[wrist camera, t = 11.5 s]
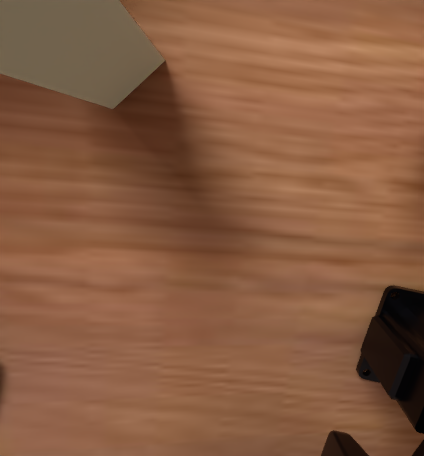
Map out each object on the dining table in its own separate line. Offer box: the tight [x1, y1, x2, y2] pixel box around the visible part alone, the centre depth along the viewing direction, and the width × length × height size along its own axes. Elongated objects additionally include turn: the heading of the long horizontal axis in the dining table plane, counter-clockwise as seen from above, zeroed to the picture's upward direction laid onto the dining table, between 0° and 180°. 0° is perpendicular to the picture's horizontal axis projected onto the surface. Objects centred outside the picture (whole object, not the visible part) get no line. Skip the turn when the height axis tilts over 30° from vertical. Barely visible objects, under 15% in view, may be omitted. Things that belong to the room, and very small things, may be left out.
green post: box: [0, 0, 165, 109], centre depth 12 cm, size 4×4×13 cm
